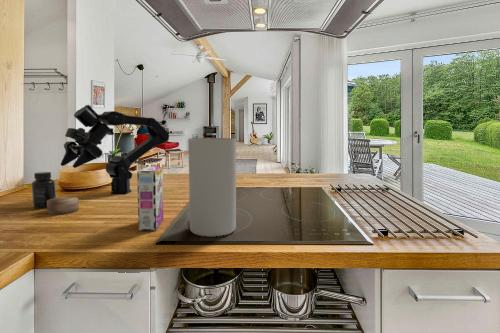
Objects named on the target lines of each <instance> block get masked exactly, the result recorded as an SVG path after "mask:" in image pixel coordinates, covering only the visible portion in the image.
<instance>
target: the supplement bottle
mask: <svg viewBox="0 0 500 333" xmlns="http://www.w3.org/2000/svg"><path fill="white" fill-rule="evenodd" d="M33 176H34V179H35V180H34V181H32V182H31V192H32V205H33V208H34V209H47V200H49V199H52V198H57V195H56V182H55V180H54V179H51V178H52V172H50V171H39V172H35V173H34V175H33Z"/></svg>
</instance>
